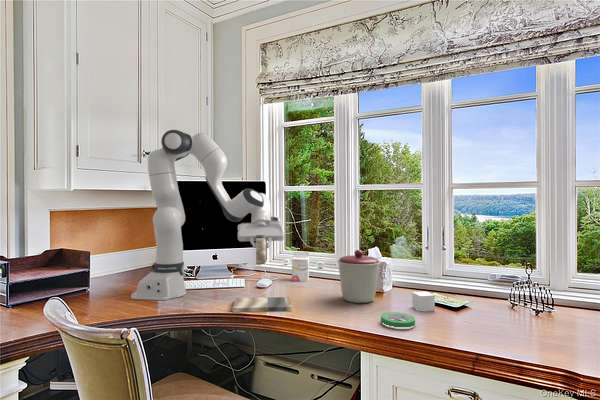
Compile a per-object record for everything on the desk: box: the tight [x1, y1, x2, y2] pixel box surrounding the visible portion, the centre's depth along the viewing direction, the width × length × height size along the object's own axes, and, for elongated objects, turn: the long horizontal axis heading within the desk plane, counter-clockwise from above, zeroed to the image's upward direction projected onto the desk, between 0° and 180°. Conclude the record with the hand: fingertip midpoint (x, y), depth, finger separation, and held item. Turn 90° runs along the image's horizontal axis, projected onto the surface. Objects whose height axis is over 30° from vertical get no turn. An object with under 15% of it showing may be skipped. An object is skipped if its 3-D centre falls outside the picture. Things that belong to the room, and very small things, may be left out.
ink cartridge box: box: [291, 251, 310, 282], centre depth 189 cm, size 9×5×15 cm, turn 84°
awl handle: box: [255, 235, 267, 265], centre depth 154 cm, size 4×4×12 cm
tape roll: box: [380, 311, 416, 327], centre depth 123 cm, size 11×11×3 cm
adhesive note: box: [411, 291, 436, 312], centre depth 140 cm, size 6×6×6 cm
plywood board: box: [232, 296, 293, 313], centre depth 143 cm, size 22×14×2 cm, turn 95°
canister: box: [336, 249, 381, 304], centre depth 152 cm, size 18×18×21 cm
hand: (260, 247), depth 154 cm, fingers closed on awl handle, 4 cm apart
